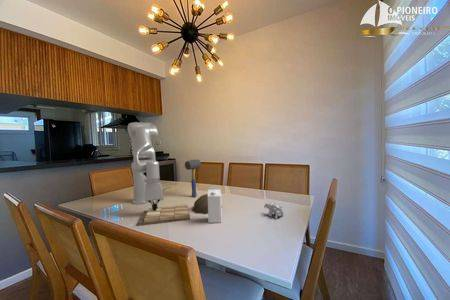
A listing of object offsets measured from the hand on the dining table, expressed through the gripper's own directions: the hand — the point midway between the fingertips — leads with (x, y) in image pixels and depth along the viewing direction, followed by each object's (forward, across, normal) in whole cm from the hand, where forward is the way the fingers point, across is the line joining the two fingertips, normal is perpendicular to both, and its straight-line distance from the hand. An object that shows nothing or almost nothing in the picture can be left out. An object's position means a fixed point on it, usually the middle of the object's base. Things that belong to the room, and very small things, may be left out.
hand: (154, 210), depth 130 cm
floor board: (+3, +7, -5) cm, 9 cm away
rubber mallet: (+3, +27, +32) cm, 42 cm away
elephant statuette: (+4, +68, -23) cm, 72 cm away
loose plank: (+2, 0, -2) cm, 2 cm away
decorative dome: (+4, +33, +1) cm, 33 cm away
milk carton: (+4, +35, -20) cm, 40 cm away
